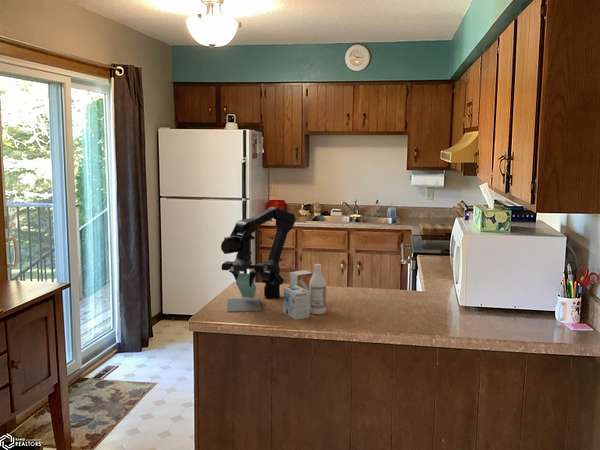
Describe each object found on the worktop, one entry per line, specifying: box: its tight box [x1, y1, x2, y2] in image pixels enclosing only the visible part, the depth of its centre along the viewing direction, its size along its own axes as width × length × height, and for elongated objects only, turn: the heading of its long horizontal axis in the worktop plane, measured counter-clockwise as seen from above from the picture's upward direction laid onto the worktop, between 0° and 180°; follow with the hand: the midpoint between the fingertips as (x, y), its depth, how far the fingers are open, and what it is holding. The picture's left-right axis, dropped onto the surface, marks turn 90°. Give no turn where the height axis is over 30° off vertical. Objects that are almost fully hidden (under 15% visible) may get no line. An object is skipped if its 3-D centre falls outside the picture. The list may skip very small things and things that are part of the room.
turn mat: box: [226, 297, 262, 313], centre depth 232 cm, size 14×18×1 cm
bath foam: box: [309, 263, 327, 315], centre depth 222 cm, size 7×7×20 cm
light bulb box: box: [283, 286, 310, 321], centre depth 219 cm, size 11×7×11 cm, turn 29°
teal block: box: [235, 272, 257, 298], centre depth 234 cm, size 5×5×12 cm
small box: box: [289, 269, 313, 291], centre depth 238 cm, size 8×6×13 cm
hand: (244, 286), depth 232 cm, fingers closed on teal block, 5 cm apart
